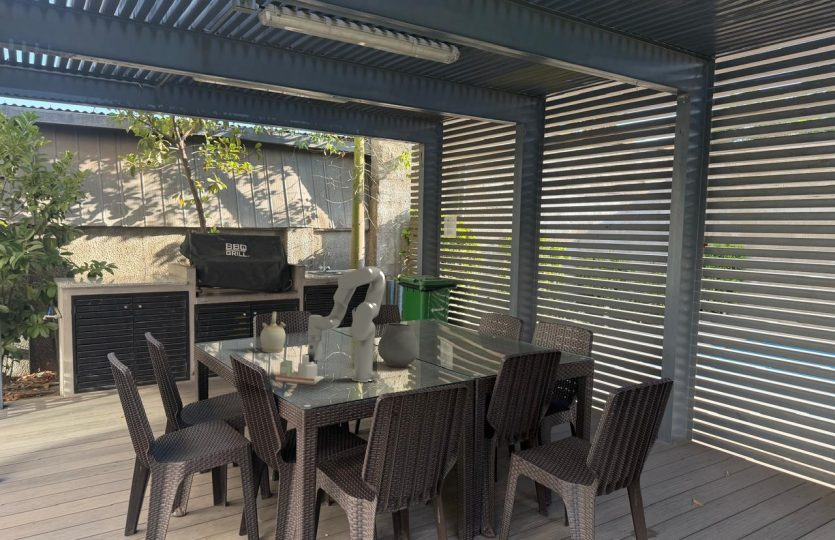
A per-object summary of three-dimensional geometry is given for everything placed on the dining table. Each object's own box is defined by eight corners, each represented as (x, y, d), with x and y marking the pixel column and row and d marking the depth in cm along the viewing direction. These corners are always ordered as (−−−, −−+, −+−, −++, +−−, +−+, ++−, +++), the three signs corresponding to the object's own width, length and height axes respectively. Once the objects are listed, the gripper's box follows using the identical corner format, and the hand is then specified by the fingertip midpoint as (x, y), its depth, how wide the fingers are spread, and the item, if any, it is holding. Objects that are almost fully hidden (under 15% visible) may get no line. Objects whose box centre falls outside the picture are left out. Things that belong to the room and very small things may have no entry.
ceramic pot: (425, 365, 342) (428, 324, 341) (404, 373, 322) (406, 329, 320) (391, 359, 355) (393, 319, 353) (368, 366, 334) (371, 323, 332)
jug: (288, 349, 367) (289, 310, 365) (280, 354, 351) (281, 313, 350) (265, 347, 368) (266, 309, 366) (255, 352, 353) (257, 312, 351)
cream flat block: (324, 377, 303) (324, 371, 303) (313, 385, 286) (313, 379, 286) (288, 373, 306) (289, 368, 306) (275, 381, 289) (275, 375, 289)
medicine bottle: (308, 375, 305) (309, 352, 304) (316, 377, 300) (318, 355, 300) (297, 377, 299) (298, 354, 299) (306, 379, 295) (307, 356, 294)
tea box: (291, 378, 297) (292, 360, 296) (286, 380, 291) (287, 363, 290) (284, 377, 298) (285, 360, 297) (279, 380, 292) (280, 362, 291)
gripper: (316, 341, 300) (315, 375, 301) (326, 336, 314) (324, 369, 316) (303, 339, 301) (301, 374, 302) (313, 335, 316) (311, 368, 317)
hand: (313, 371), depth 309 cm, fingers closed
